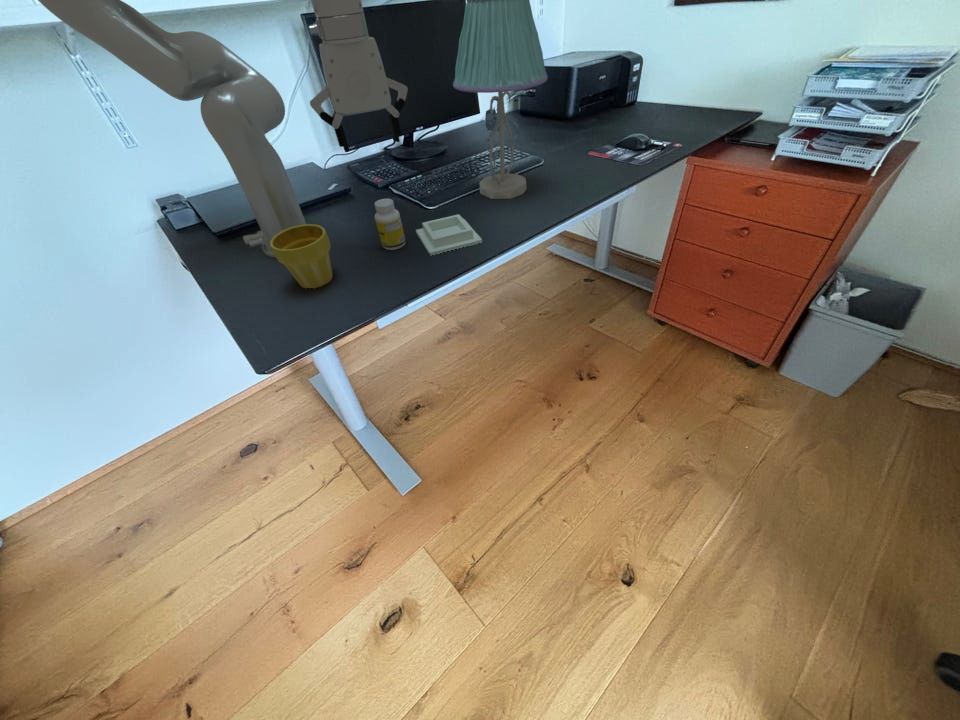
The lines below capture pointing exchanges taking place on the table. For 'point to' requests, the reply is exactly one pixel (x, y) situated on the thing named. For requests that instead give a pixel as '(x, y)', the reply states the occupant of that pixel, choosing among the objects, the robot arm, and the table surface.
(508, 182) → the table lamp
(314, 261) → the plant pot
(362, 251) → the table surface
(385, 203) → the supplement bottle
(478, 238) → the socket holder
